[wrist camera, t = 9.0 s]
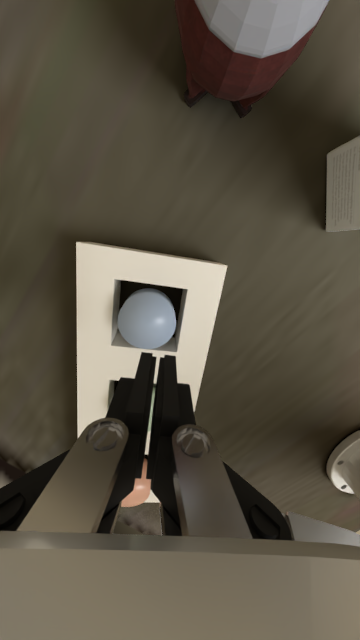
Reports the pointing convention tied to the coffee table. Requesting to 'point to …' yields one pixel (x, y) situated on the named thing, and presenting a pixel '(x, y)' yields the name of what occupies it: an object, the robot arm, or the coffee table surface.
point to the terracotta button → (138, 490)
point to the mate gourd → (242, 45)
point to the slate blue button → (147, 319)
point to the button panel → (102, 321)
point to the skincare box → (343, 187)
